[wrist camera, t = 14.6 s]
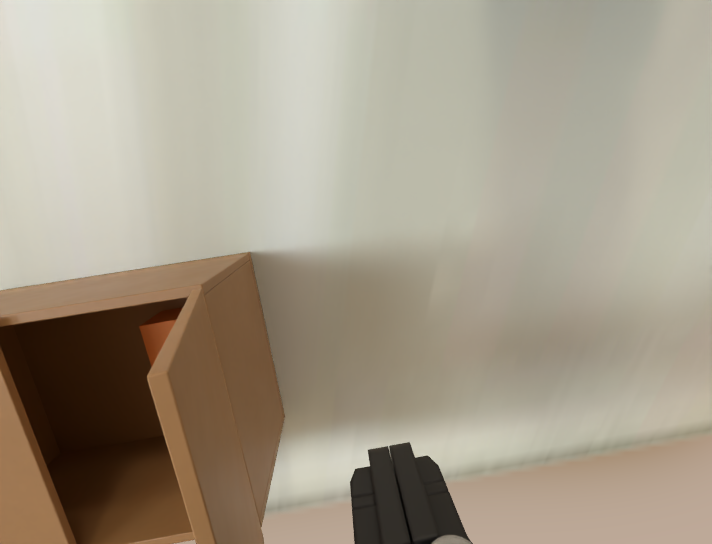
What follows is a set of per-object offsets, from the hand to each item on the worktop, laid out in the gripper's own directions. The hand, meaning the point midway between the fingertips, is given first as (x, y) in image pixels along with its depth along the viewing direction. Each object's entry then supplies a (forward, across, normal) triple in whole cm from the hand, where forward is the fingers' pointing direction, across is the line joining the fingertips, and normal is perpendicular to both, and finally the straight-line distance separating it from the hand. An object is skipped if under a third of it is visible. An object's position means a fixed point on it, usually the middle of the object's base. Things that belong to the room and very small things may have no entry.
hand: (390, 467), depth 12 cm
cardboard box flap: (0, +6, 0) cm, 6 cm away
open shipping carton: (+14, +15, 0) cm, 21 cm away
